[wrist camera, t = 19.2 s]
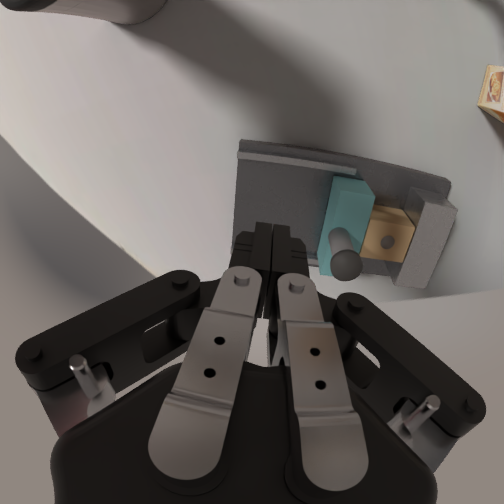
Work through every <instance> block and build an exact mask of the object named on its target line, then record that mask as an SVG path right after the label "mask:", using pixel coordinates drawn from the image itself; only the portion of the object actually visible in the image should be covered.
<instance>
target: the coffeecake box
mask: <svg viewBox="0 0 504 504" xmlns="http://www.w3.org/2000/svg"><path fill="white" fill-rule="evenodd" d="M477 106H478V107H480V108H481V109H483V110H484V111H486V112H487V113H489V114H490V115H492V116H493V117H495V118H496V119H498V120H499V121H500V122H502V123H503V124H504V67H501V66H493V65H487V70H486V74H485V79H484V83H483V86H482V90H481V93H480V96H479V100H478V104H477Z"/></svg>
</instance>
